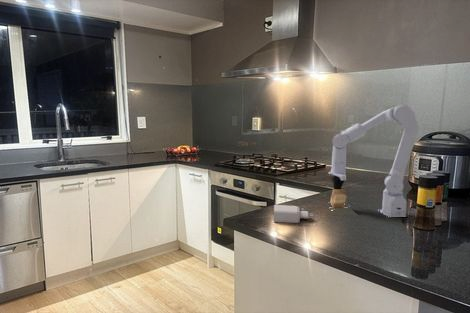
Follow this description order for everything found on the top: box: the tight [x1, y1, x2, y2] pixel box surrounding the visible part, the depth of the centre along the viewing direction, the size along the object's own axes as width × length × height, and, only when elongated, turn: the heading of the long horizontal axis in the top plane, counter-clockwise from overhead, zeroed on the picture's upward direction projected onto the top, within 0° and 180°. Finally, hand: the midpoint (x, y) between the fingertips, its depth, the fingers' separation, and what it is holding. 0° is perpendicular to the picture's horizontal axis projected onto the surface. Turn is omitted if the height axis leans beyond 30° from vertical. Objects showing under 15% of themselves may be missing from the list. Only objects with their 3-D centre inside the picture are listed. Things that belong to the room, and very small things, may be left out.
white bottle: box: [273, 204, 314, 224], centre depth 126 cm, size 5×9×15 cm
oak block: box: [329, 188, 348, 207], centre depth 138 cm, size 4×4×7 cm
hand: (337, 193), depth 140 cm, fingers closed, pressing on oak block
